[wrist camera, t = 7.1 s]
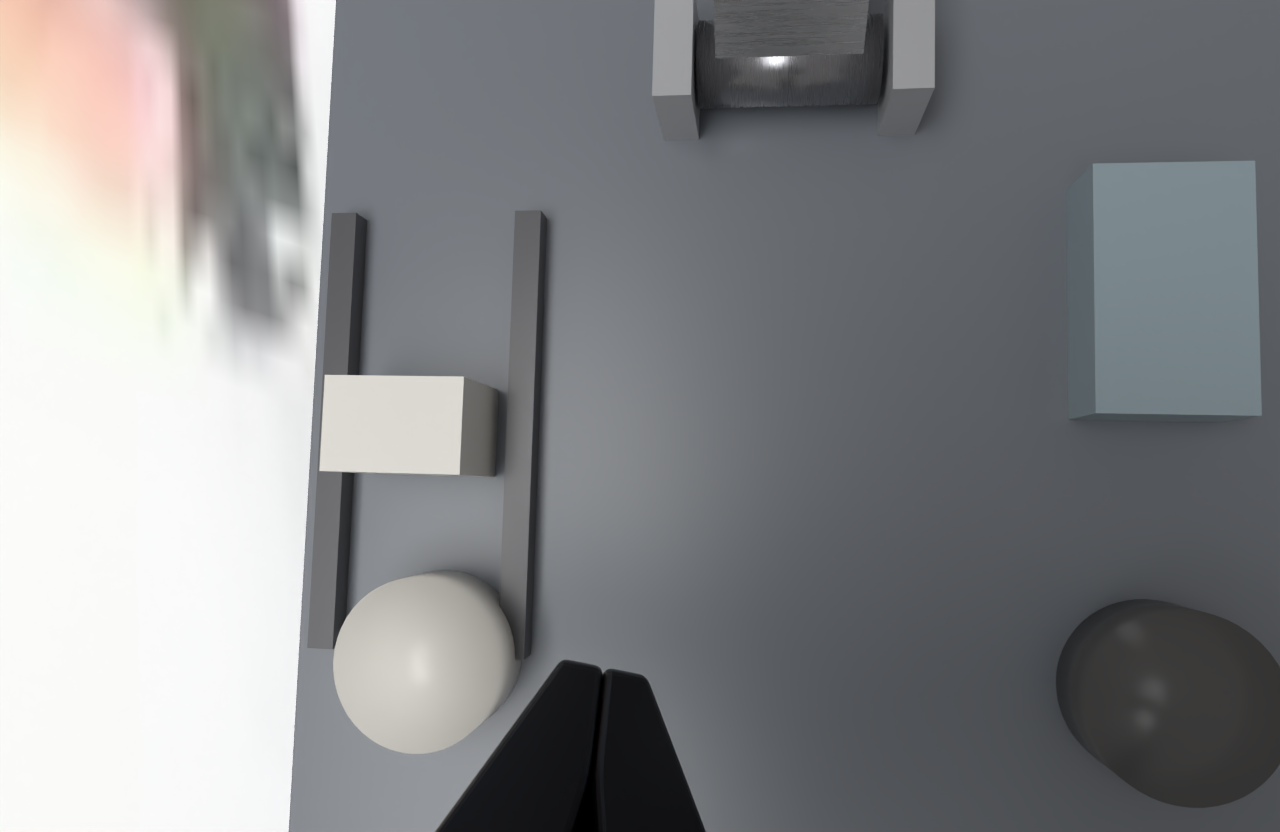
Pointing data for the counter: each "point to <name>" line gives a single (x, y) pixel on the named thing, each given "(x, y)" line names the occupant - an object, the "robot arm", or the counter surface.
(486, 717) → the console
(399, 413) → the slider
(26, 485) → the counter surface
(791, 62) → the lever
